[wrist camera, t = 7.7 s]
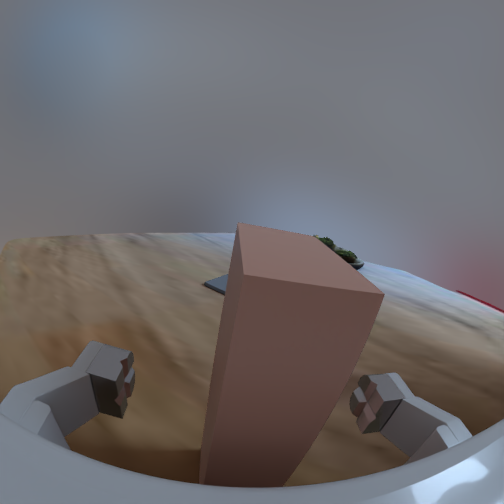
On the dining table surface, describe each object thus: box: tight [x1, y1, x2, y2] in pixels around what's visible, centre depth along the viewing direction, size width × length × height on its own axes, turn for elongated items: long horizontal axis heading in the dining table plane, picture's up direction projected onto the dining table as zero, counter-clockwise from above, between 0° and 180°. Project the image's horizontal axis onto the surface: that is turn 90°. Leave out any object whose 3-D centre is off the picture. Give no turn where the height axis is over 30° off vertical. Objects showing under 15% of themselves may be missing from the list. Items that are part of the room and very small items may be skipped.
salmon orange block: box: [199, 223, 385, 488], centre depth 8 cm, size 4×2×12 cm, turn 4°
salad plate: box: [314, 235, 364, 270], centre depth 62 cm, size 19×18×5 cm
